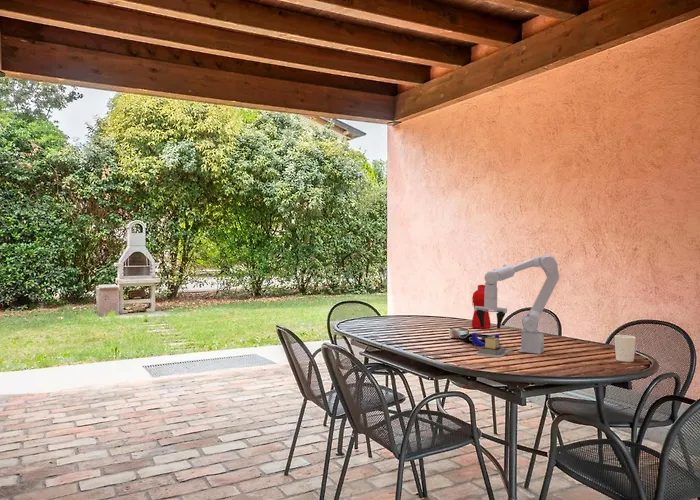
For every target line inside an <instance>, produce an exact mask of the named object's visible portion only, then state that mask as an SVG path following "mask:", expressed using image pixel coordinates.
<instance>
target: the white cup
mask: <svg viewBox="0 0 700 500" xmlns="http://www.w3.org/2000/svg"><path fill="white" fill-rule="evenodd" d="M614 352H615V360H616V361H619V362H624V363H628V362H629V363H631V362H635V361H634V360H635V353H636V336H633V335H626V334H616V335H614Z"/></svg>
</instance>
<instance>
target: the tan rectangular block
mask: <svg viewBox="0 0 700 500" xmlns="http://www.w3.org/2000/svg"><path fill="white" fill-rule="evenodd" d="M499 340H500V337H499V338H495V337H486V338H484V341H485V342H484V343H485V349H490V350H499Z"/></svg>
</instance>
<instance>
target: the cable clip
mask: <svg viewBox="0 0 700 500" xmlns="http://www.w3.org/2000/svg"><path fill="white" fill-rule="evenodd" d="M494 338H499V347H500V344H501V343H500V342H501V341H500V334H494ZM471 346H472V347H479V348H481V347H484V346H485V342H483V341H481V340H480V339H479V338H478V334H477V332H472V333H471Z"/></svg>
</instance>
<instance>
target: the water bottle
mask: <svg viewBox="0 0 700 500" xmlns="http://www.w3.org/2000/svg"><path fill="white" fill-rule="evenodd" d="M484 291H485V284H478V285H477V290H475V291H474V292H473V293H472V298H471V299H472V302H471V304H472V307H473V309H474V311H473V315H472V319H471V327H472V329H478V330H487V329H488V330H489V329H491V318H490V312H488V311H485V315H484V327H481V325H480V321H479V318H478V316H477V314H476V312H477V311H475V306H482V307H484V298H485V297H484Z"/></svg>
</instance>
